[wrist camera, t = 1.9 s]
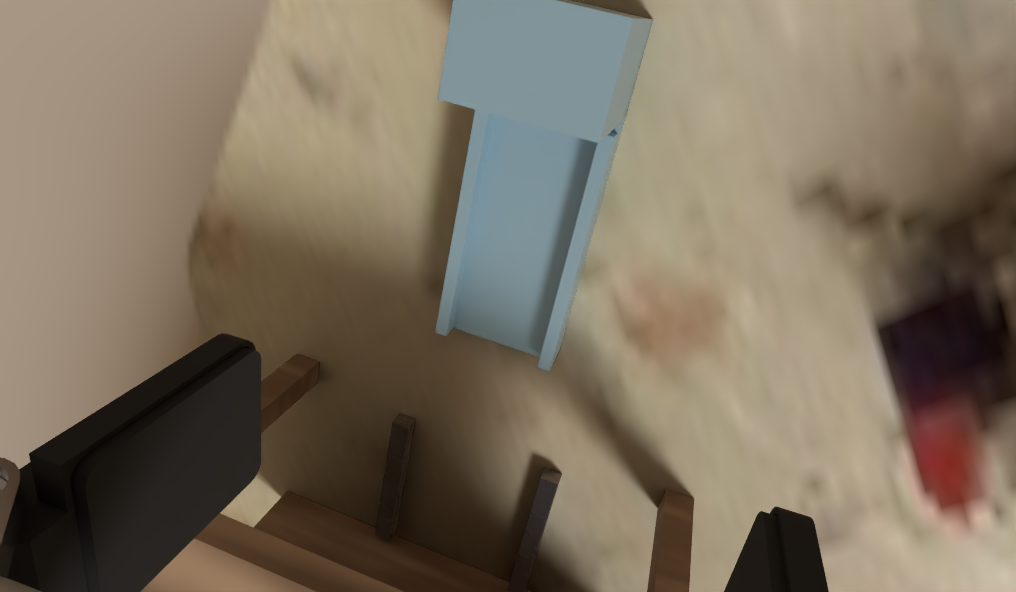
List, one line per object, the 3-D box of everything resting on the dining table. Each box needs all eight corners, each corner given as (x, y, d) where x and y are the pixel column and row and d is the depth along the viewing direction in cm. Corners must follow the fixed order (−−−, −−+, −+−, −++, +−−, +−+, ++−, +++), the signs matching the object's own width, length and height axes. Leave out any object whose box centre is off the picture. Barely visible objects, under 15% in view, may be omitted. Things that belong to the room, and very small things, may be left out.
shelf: (297, 353, 39) (109, 500, 27) (694, 498, 34) (680, 750, 22) (286, 502, 44) (124, 680, 32) (629, 644, 40) (591, 910, 28)
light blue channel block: (515, -13, 28) (456, -24, 21) (653, 19, 26) (633, 18, 20) (453, 312, 35) (395, 375, 28) (560, 348, 33) (524, 422, 27)
